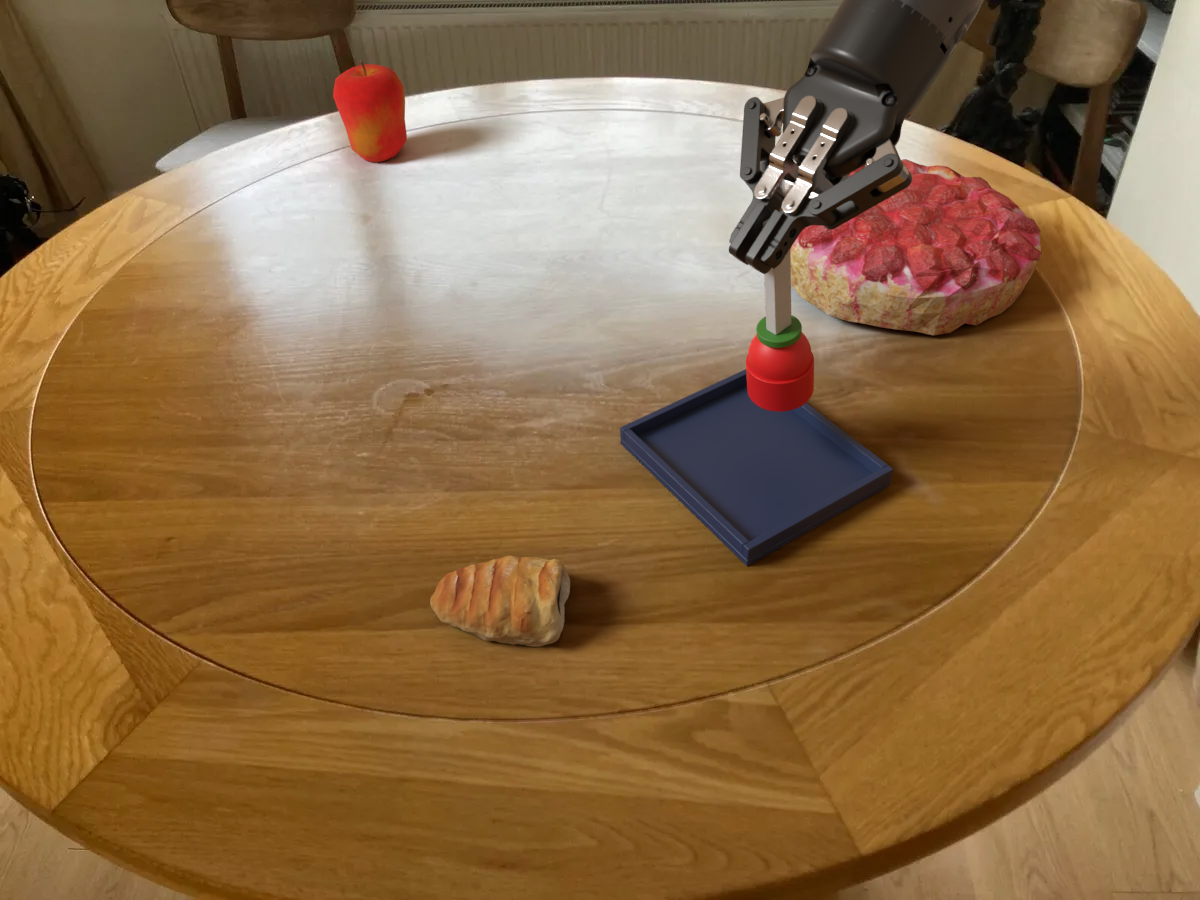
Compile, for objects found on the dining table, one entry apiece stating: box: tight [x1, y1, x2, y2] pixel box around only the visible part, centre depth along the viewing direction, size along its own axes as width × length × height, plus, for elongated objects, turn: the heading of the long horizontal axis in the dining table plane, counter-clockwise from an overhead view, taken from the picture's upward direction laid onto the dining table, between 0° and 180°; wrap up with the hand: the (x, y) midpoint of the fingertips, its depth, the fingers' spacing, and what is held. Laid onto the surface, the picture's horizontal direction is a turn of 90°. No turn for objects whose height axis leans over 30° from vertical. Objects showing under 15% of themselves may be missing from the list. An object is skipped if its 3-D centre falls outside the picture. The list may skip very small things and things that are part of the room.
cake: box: [790, 158, 1042, 336], centre depth 94 cm, size 25×25×8 cm
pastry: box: [429, 555, 571, 648], centre depth 65 cm, size 9×7×4 cm
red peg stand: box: [745, 219, 815, 412], centre depth 68 cm, size 5×5×15 cm
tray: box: [619, 368, 894, 567], centre depth 76 cm, size 16×14×2 cm
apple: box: [332, 59, 408, 163], centre depth 117 cm, size 9×8×12 cm
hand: (747, 262), depth 62 cm, fingers closed on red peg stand, 1 cm apart
